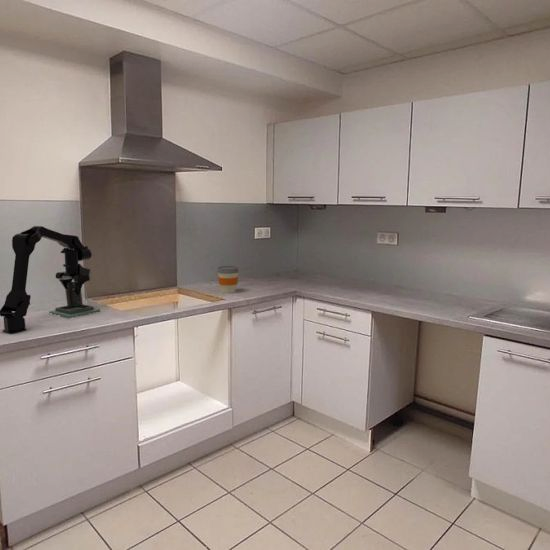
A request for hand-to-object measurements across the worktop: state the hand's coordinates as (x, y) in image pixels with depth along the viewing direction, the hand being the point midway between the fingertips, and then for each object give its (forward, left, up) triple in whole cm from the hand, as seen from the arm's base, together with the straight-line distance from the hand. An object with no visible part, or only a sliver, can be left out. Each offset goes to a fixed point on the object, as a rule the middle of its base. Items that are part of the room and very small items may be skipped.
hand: (73, 294), depth 205 cm
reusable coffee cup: (+82, -29, -9) cm, 88 cm away
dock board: (0, 0, -9) cm, 9 cm away
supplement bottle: (0, -1, -6) cm, 6 cm away
